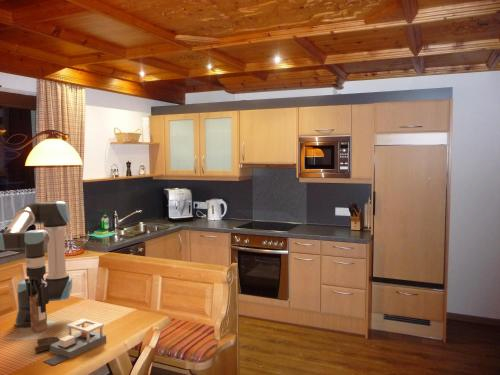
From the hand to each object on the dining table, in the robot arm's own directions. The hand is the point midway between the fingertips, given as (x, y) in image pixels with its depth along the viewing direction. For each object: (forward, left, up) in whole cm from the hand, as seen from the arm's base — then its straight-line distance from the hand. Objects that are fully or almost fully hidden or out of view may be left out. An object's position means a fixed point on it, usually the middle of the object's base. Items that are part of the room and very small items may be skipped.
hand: (38, 318), depth 182 cm
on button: (+5, +10, -15) cm, 18 cm away
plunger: (+5, +20, -14) cm, 25 cm away
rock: (-7, +8, -19) cm, 22 cm away
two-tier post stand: (+5, +16, -18) cm, 24 cm away
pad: (+8, +2, -18) cm, 20 cm away
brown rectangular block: (0, 0, -6) cm, 6 cm away
